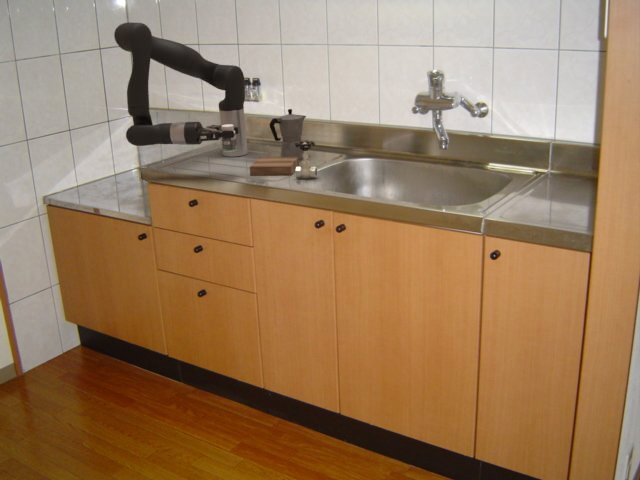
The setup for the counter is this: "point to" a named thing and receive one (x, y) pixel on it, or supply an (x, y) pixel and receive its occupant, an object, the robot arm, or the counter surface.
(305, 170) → the valve
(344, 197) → the counter surface
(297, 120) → the coffeepot
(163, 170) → the counter surface
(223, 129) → the pill bottle
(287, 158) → the stand
